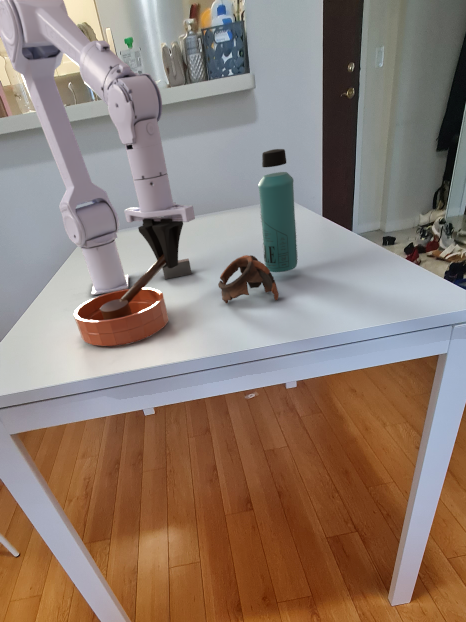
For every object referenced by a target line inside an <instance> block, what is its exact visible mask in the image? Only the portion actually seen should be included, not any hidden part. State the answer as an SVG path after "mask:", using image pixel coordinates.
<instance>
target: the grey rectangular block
mask: <svg viewBox="0 0 466 622" xmlns="http://www.w3.org/2000/svg"><path fill="white" fill-rule="evenodd" d="M190 262H191V261H190V259H189V258H184V259H178V265H177V266H175V267H173V268H168V266H166V267H164V268H162V269H161V270H162V273H163V277H164V280H169V279H174V278H179V277H185V276H188V275H192V267H191V263H190Z"/></svg>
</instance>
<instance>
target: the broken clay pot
mask: <svg viewBox="0 0 466 622" xmlns="http://www.w3.org/2000/svg"><path fill="white" fill-rule="evenodd" d="M238 270H239V272H240V275H239V276H238V277H237V278H236V279H234V280H232V282H231V281H230V282H229V279H230V278H231V277H232V276H234V274H236V272H237V271H238ZM219 279H220V280H219V282H218V284H217V286H218V288H219V289H220V290H221V293H220V294H221V299H222V301H223V302H224V303H225V304H228V303H229V301H233V300H234V299H238V298H239V297H240V296H250V293H249V289H248V286H249V288H250V289H254V288H256V289H257V288H259V287H260V286H263V289H264V293H272V294H273V298H274V300H275V301H278V300H279V296H280V295H279V291H278V287H277V283H276V281H275V279H274V276H273V273H272V272H270V270H269V269H268V268H267V267H266V265H265V263H263V262H261V261H259V259H258V258H256V256H254V255H251V254H249V255H248V254H245V255H242V256H240V257H237V258H236V259H234V260H233V261H231V262H230V264H229V265H227V266H226V268H224V270H223V271H222V273H221V275H220V276H219ZM228 282H229V283H228Z"/></svg>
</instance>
